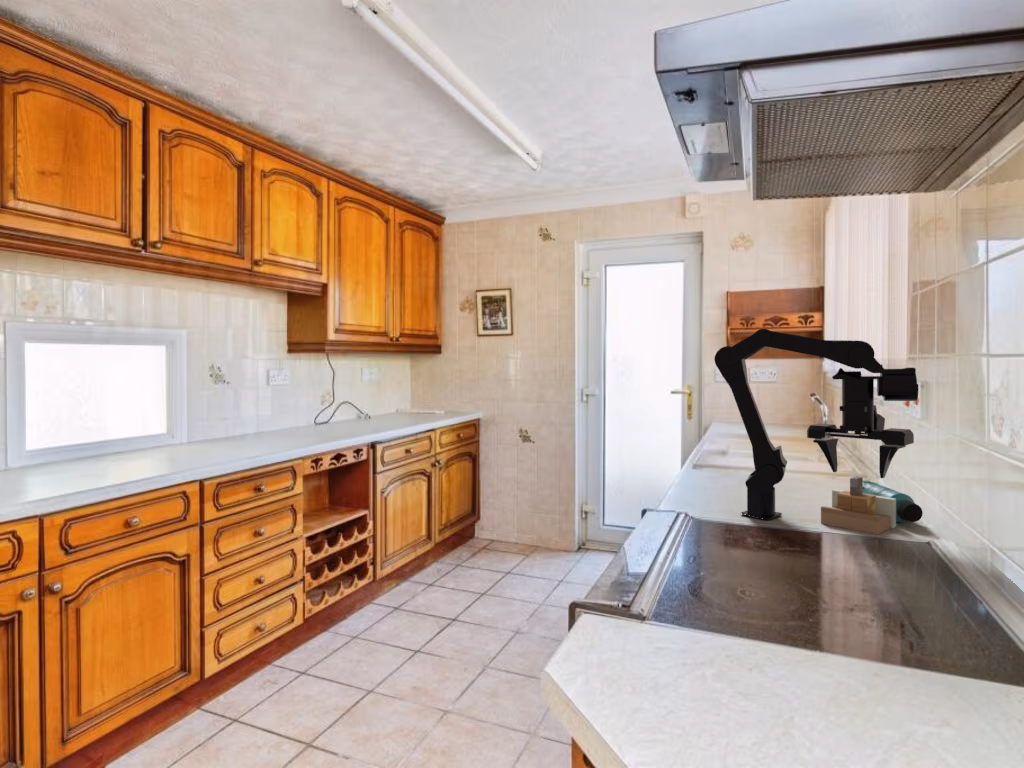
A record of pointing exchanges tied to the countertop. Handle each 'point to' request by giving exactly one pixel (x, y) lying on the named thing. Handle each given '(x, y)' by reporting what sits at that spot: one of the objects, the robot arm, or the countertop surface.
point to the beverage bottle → (904, 503)
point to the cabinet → (856, 498)
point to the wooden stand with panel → (861, 516)
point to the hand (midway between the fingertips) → (858, 474)
